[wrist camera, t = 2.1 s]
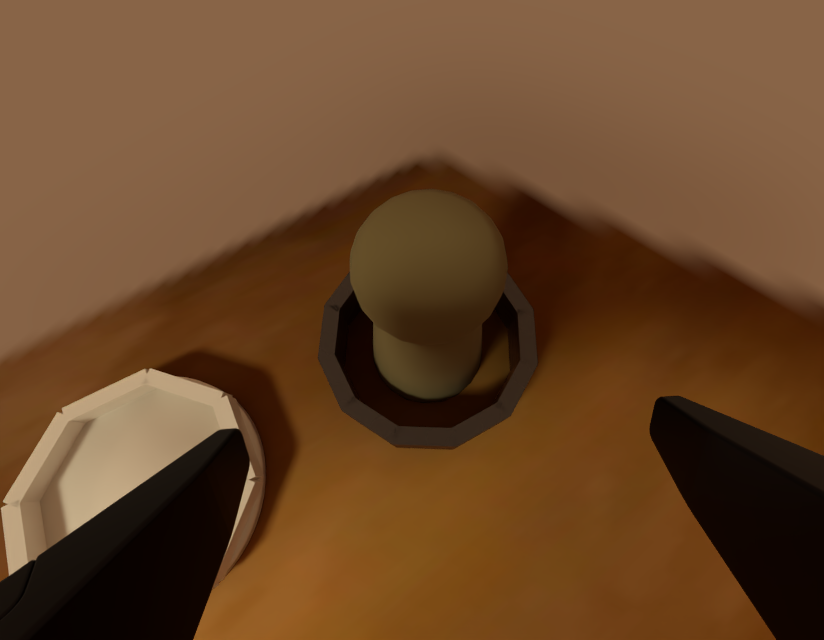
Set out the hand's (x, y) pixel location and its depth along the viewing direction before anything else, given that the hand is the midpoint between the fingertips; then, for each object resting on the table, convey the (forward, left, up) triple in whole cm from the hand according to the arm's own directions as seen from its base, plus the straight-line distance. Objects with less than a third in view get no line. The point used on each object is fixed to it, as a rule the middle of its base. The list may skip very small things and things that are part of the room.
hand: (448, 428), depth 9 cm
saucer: (+5, +13, -12) cm, 19 cm away
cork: (+5, -2, -12) cm, 13 cm away
